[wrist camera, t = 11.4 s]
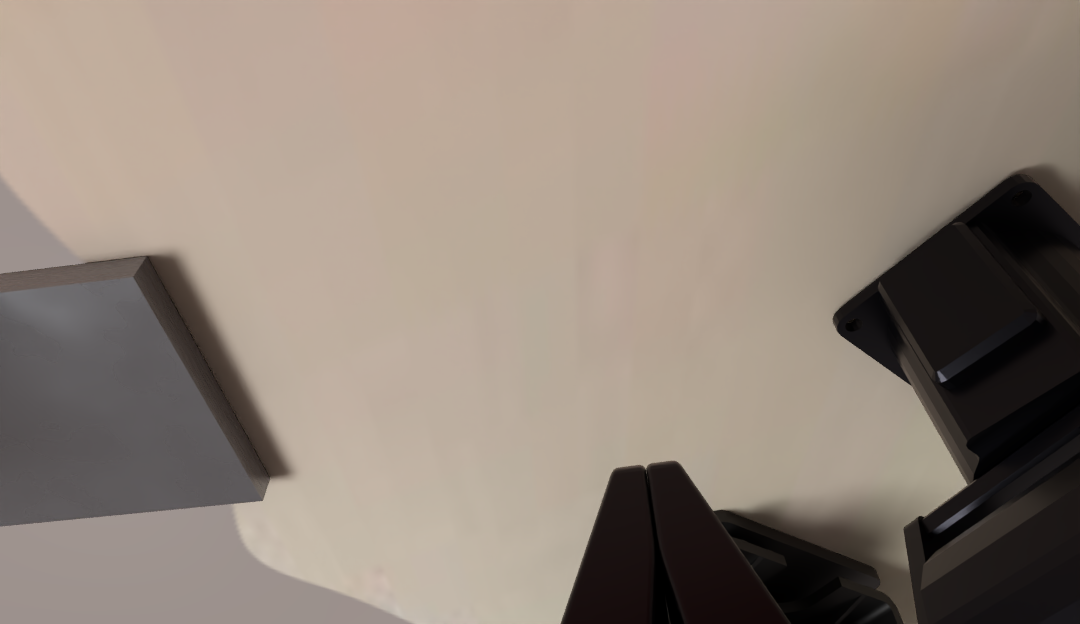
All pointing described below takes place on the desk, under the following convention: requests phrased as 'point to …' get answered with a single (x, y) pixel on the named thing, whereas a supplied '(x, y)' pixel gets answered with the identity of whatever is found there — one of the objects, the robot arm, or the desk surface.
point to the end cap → (810, 577)
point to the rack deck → (110, 401)
